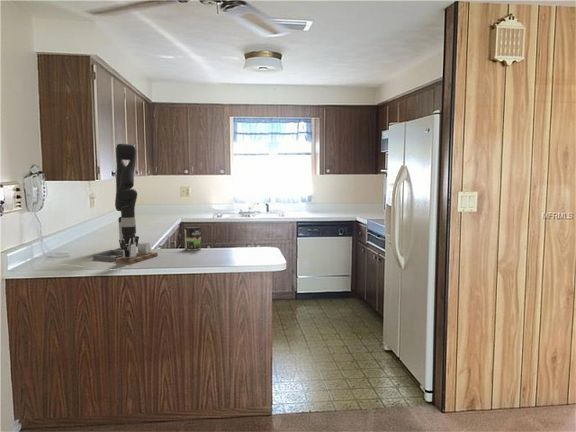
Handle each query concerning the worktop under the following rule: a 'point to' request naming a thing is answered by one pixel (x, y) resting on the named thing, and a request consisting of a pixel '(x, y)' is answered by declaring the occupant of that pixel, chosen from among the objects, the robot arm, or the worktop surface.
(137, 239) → the robot arm
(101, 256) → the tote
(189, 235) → the coffee can
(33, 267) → the worktop surface
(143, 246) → the block
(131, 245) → the block
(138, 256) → the pallet
